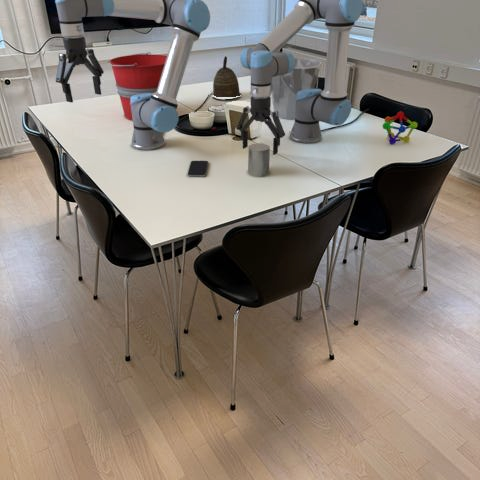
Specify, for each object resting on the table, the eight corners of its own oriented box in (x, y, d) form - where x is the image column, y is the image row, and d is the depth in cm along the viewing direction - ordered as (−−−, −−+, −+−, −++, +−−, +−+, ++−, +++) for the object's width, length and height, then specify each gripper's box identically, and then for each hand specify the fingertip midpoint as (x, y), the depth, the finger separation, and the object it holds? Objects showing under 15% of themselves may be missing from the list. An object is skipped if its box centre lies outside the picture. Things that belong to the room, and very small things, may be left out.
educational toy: (377, 146, 209) (379, 114, 202) (384, 138, 219) (386, 107, 211) (411, 149, 202) (415, 116, 195) (417, 141, 212) (420, 109, 204)
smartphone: (187, 174, 176) (191, 160, 188) (187, 176, 176) (191, 162, 189) (205, 175, 176) (208, 160, 188) (205, 176, 176) (208, 162, 189)
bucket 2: (291, 125, 232) (295, 70, 217) (253, 113, 251) (254, 61, 236) (327, 115, 249) (333, 62, 234) (289, 104, 267) (292, 55, 253)
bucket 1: (123, 105, 263) (116, 51, 247) (182, 106, 262) (179, 52, 247) (107, 123, 234) (97, 63, 218) (173, 124, 233) (168, 64, 217)
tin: (243, 172, 180) (244, 147, 174) (257, 166, 185) (257, 141, 179) (259, 178, 175) (260, 152, 169) (273, 172, 180) (274, 146, 175)
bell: (227, 105, 294) (202, 96, 282) (238, 66, 289) (213, 55, 277) (243, 108, 280) (217, 98, 268) (255, 66, 275) (229, 55, 263)
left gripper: (50, 41, 145) (63, 106, 157) (107, 33, 163) (115, 92, 174) (36, 39, 149) (50, 103, 160) (93, 32, 167) (102, 89, 178)
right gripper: (226, 94, 167) (228, 148, 178) (286, 103, 156) (284, 159, 167) (236, 89, 172) (237, 142, 184) (295, 98, 161) (292, 153, 173)
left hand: (84, 97), depth 167 cm, fingers open, 13 cm apart
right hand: (260, 150), depth 176 cm, fingers open, 13 cm apart
